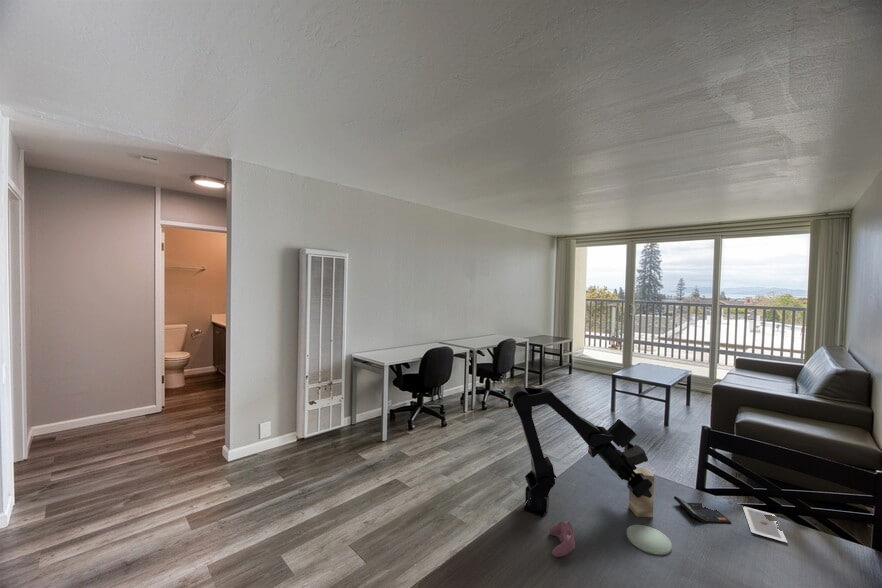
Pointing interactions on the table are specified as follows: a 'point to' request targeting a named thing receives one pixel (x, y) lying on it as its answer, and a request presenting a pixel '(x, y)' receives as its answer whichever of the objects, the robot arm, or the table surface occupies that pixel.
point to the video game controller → (563, 538)
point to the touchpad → (763, 524)
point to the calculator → (703, 512)
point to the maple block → (642, 497)
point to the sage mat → (649, 539)
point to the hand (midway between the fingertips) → (646, 491)
